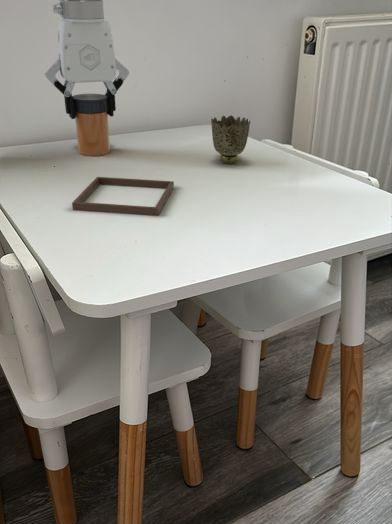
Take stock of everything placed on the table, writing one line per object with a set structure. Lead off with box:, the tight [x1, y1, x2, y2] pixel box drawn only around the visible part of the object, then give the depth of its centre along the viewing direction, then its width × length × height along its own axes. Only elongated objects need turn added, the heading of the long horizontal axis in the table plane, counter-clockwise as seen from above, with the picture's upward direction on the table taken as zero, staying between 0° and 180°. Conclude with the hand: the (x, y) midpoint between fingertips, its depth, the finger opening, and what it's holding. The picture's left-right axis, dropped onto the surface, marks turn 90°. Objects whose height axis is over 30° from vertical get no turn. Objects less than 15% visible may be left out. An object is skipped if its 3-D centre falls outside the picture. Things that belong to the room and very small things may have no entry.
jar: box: [74, 111, 111, 157], centre depth 112 cm, size 6×6×10 cm
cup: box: [210, 114, 251, 165], centre depth 108 cm, size 8×7×8 cm
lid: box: [72, 93, 109, 113], centre depth 109 cm, size 7×7×2 cm
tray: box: [71, 176, 175, 217], centre depth 89 cm, size 13×13×2 cm
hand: (91, 115), depth 111 cm, fingers closed on lid, 7 cm apart
